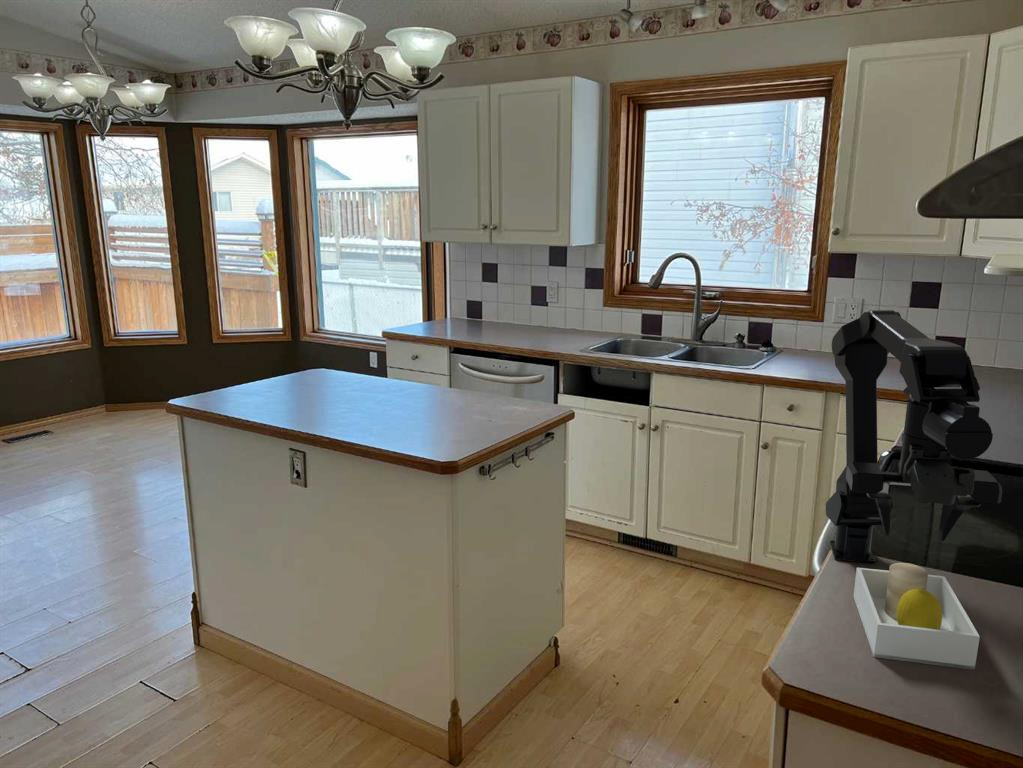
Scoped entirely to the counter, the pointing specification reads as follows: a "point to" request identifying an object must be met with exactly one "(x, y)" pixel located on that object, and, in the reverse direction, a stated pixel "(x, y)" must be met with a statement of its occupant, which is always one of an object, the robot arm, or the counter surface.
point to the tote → (914, 643)
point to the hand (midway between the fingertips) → (913, 537)
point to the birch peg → (902, 584)
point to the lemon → (919, 610)
